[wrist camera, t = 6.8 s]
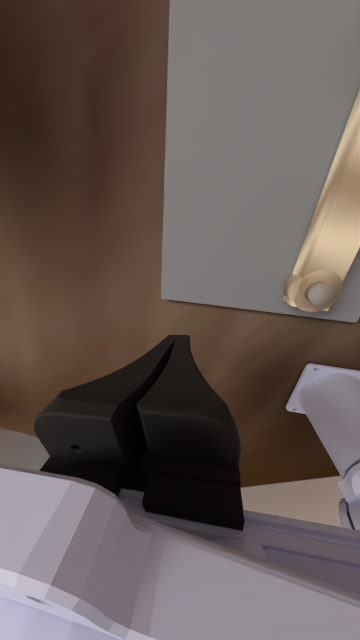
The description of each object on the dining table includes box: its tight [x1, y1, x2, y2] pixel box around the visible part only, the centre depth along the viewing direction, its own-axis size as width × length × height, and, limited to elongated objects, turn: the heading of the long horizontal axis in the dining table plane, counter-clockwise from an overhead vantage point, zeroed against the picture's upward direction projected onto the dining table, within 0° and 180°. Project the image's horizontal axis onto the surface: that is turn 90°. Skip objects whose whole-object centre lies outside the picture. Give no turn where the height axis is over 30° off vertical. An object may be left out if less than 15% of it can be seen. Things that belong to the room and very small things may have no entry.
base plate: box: [161, 0, 360, 323], centre depth 13 cm, size 20×23×1 cm
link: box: [283, 89, 360, 312], centre depth 12 cm, size 17×4×3 cm, turn 175°
